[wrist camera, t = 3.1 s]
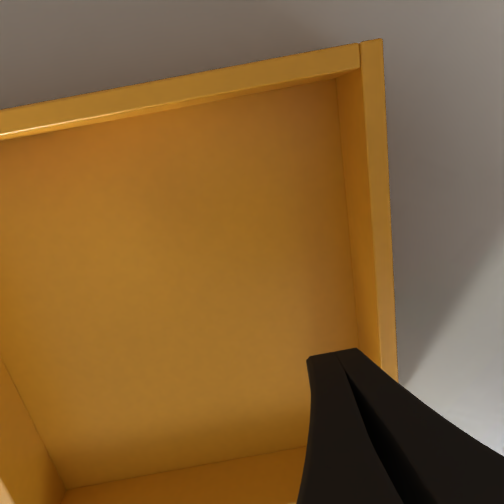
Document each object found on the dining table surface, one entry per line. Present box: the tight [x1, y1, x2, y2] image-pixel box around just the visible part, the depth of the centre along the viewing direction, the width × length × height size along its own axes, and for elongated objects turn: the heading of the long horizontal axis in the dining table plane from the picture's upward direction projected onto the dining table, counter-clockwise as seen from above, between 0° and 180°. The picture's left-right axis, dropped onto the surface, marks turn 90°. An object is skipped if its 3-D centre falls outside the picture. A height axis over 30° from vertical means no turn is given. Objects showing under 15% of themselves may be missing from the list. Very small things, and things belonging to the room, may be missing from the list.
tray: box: [0, 38, 399, 504], centre depth 13 cm, size 15×16×3 cm
